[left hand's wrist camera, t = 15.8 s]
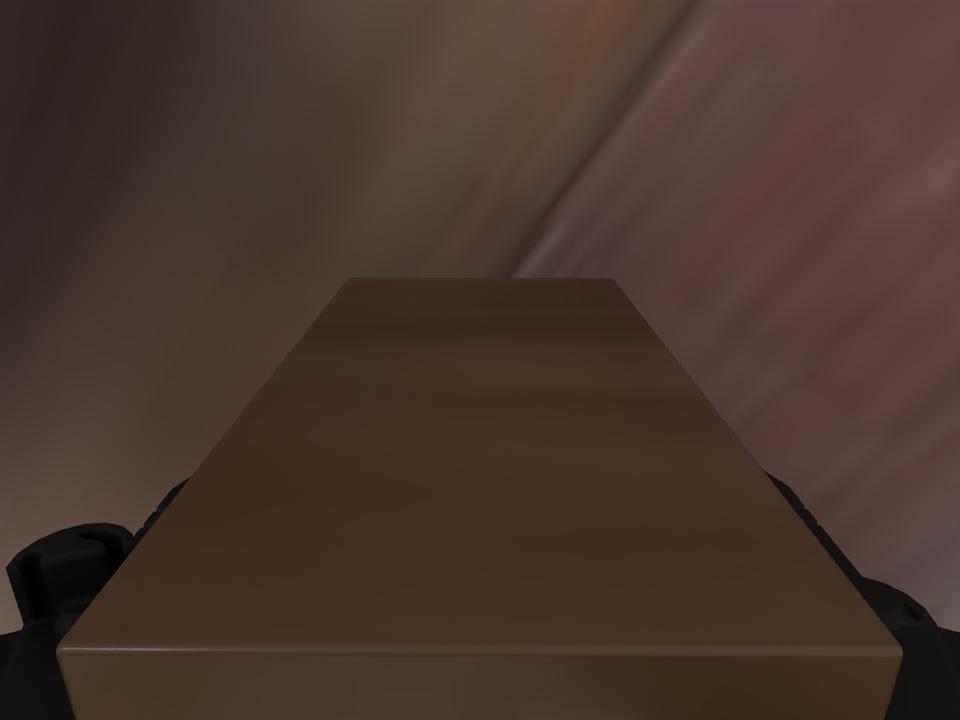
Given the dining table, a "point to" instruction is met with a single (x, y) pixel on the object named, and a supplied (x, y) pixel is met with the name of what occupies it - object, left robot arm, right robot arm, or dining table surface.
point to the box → (479, 537)
